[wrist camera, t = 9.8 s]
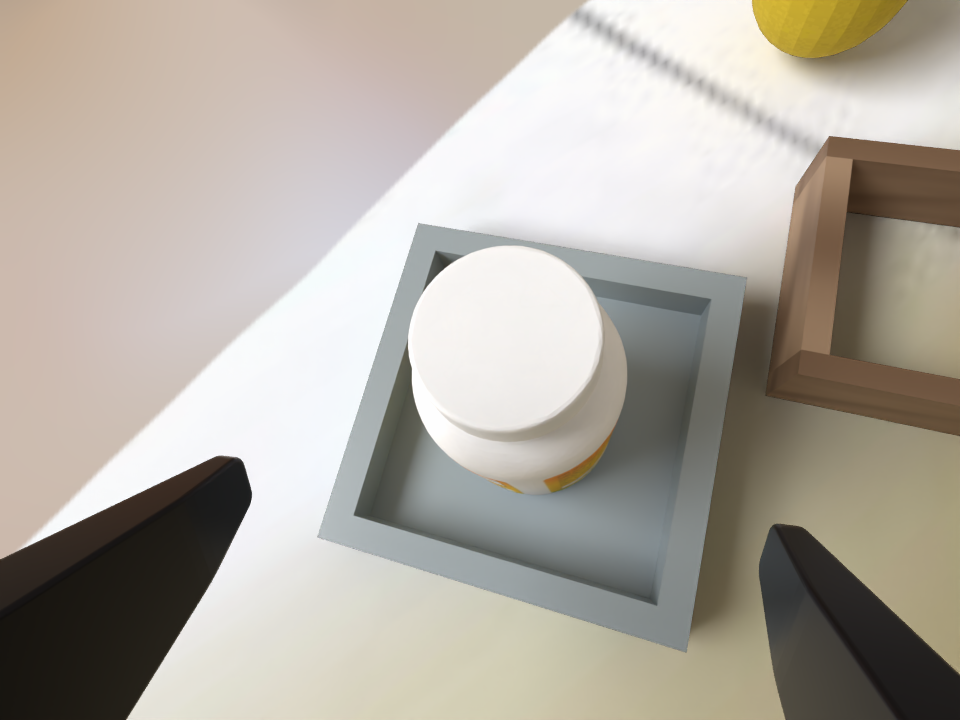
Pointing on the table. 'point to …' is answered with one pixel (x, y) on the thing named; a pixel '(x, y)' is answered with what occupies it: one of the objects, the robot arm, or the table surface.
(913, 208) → the brown wooden open box
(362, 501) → the parts tray
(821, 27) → the lemon
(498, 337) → the supplement bottle
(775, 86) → the table surface
